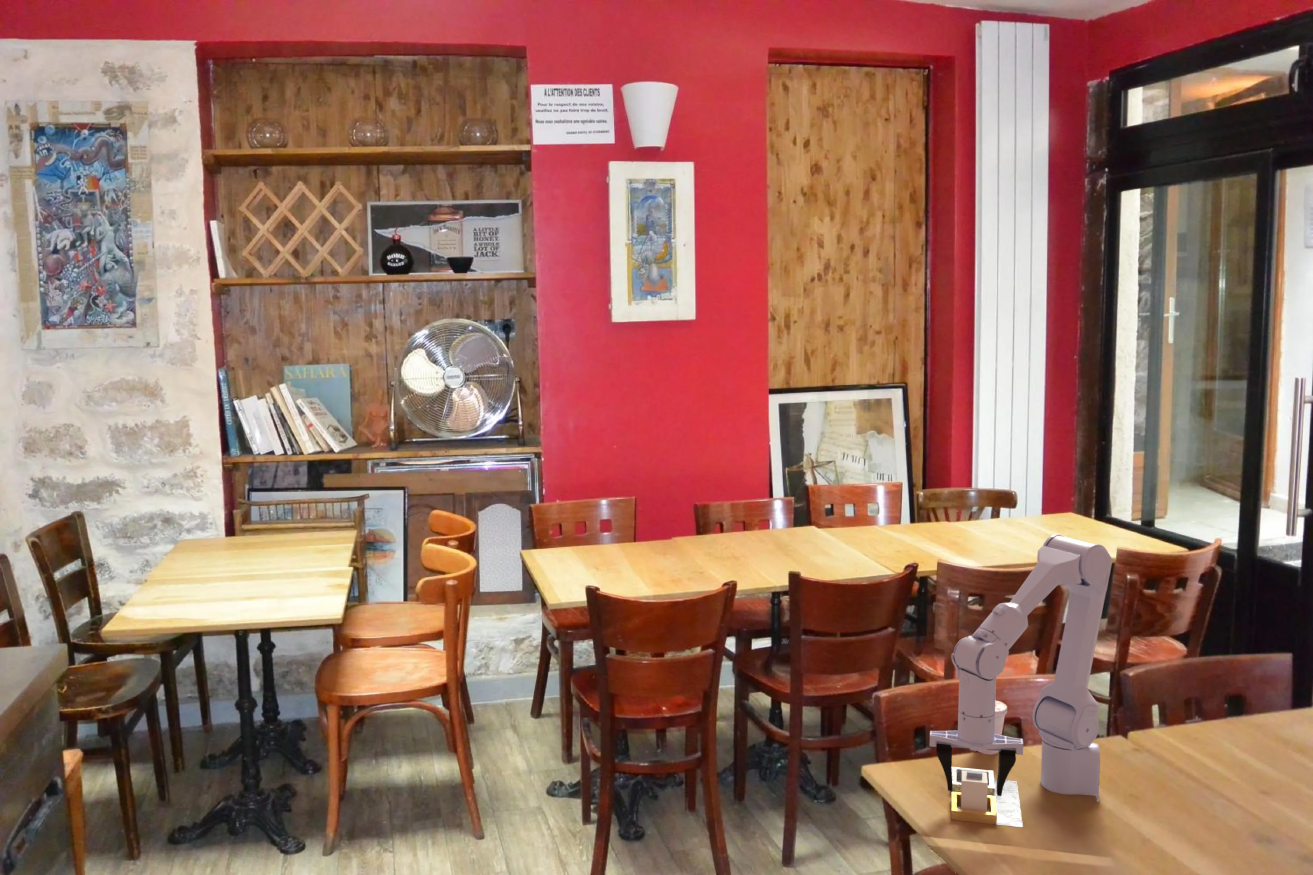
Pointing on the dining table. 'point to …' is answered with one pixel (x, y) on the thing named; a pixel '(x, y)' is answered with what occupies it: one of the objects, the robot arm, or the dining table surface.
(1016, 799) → the panel
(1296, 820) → the dining table surface
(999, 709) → the smoothie
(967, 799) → the plug
